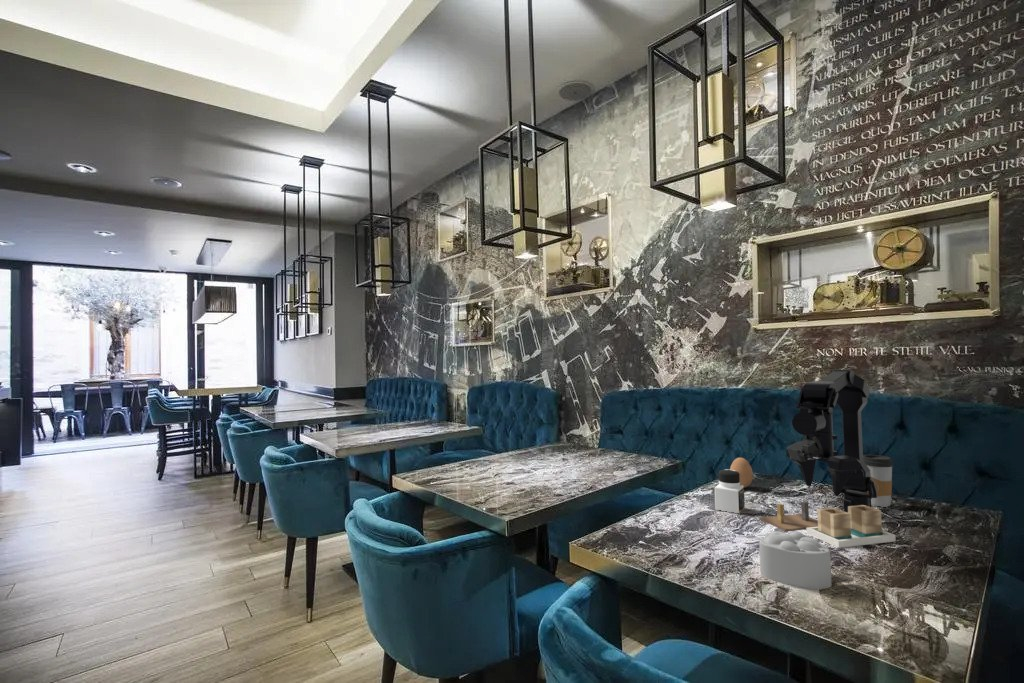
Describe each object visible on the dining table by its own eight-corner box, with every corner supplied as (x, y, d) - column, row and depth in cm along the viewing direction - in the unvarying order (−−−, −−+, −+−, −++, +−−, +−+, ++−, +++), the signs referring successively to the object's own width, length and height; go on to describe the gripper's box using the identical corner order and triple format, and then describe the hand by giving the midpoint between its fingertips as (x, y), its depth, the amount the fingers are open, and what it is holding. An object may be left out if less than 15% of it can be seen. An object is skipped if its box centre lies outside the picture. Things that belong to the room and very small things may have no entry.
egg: (736, 483, 183) (735, 454, 184) (757, 487, 178) (756, 457, 178) (726, 487, 178) (725, 457, 179) (747, 491, 173) (746, 460, 173)
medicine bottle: (739, 514, 149) (738, 474, 149) (714, 510, 153) (713, 471, 154) (744, 508, 155) (743, 469, 155) (721, 504, 159) (719, 467, 159)
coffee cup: (856, 503, 158) (854, 456, 158) (871, 499, 161) (869, 453, 162) (884, 510, 150) (882, 460, 151) (900, 506, 154) (898, 458, 154)
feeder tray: (860, 530, 134) (859, 522, 134) (895, 543, 124) (895, 535, 124) (806, 535, 130) (806, 527, 131) (838, 550, 121) (838, 541, 121)
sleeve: (864, 531, 131) (863, 504, 132) (882, 538, 126) (881, 510, 126) (848, 532, 130) (847, 506, 131) (866, 539, 125) (864, 512, 125)
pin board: (801, 517, 145) (800, 496, 145) (829, 528, 135) (828, 506, 136) (759, 521, 142) (758, 500, 143) (785, 533, 133) (784, 510, 133)
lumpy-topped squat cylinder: (770, 561, 115) (768, 524, 115) (835, 577, 106) (834, 536, 107) (756, 576, 107) (755, 536, 108) (826, 595, 99) (824, 551, 99)
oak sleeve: (834, 534, 129) (833, 507, 130) (851, 541, 124) (850, 513, 125) (817, 536, 128) (816, 509, 129) (834, 543, 123) (833, 515, 124)
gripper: (768, 427, 137) (770, 483, 137) (821, 437, 119) (823, 503, 118) (803, 425, 139) (805, 481, 139) (860, 435, 121) (863, 499, 120)
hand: (822, 490), depth 129 cm, fingers open, 9 cm apart
